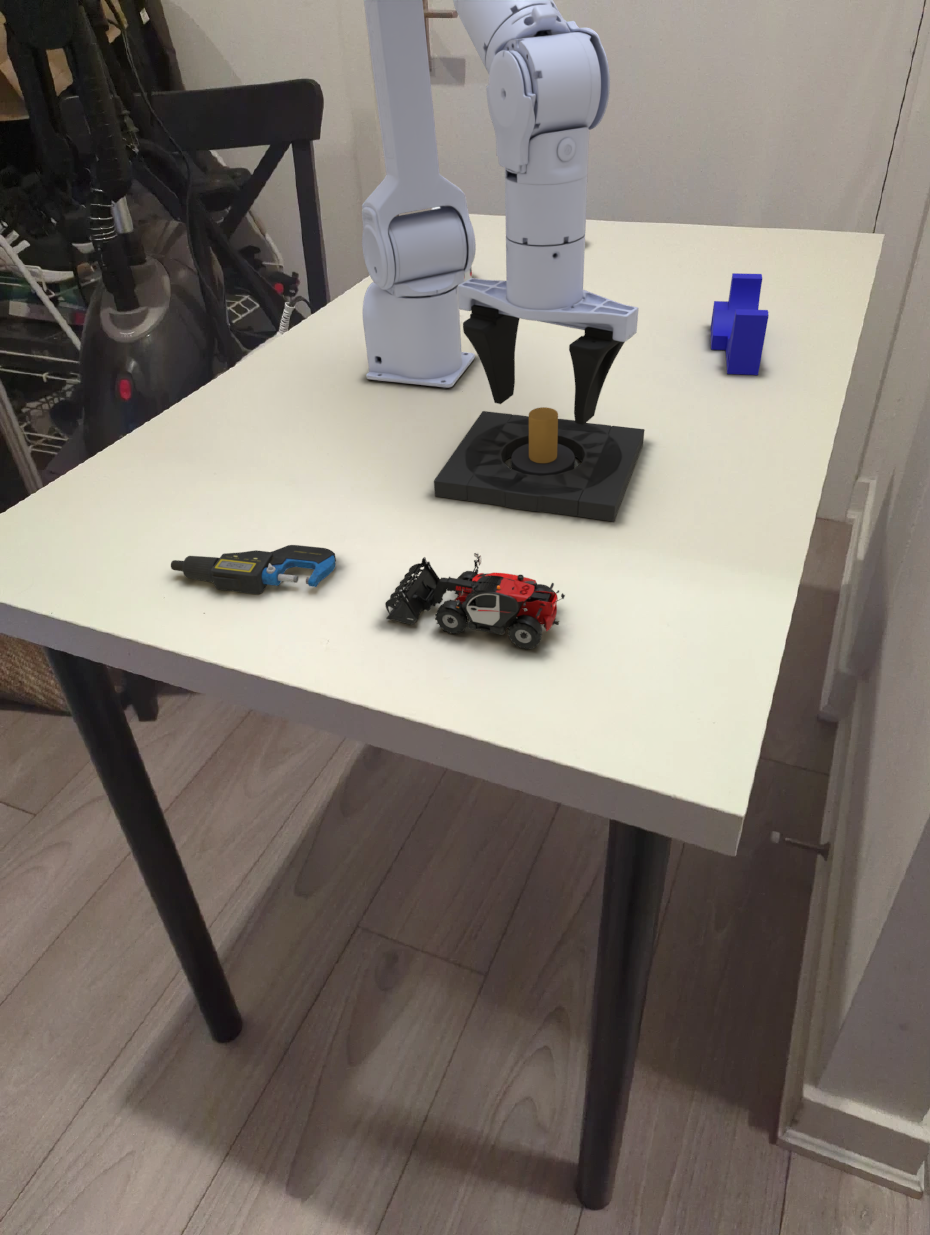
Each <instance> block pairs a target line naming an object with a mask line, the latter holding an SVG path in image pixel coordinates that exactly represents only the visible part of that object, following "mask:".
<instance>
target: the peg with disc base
mask: <svg viewBox="0 0 930 1235" xmlns="http://www.w3.org/2000/svg"><path fill="white" fill-rule="evenodd" d="M528 416H529V444H526V445H523V446H521V447H519V448H517V449H516V450H515V451H514V452H513V454H512V456H511V457H510V469H513V470H515V471H518V472H520V473H523V474H530V475H538V476H544V475H557V474H560V473H563V472H567V471H570V470H573V469H574V468H575V463H576V462H575V461H576V457H575V456H574V453H573V452H572V451H571V450H570V449H569V448H568V447H566V446H564V445H561V444H557V438H558V419H559V413H558V411H557V410H556V409H555V408H552V407H547V406H546V407H542V406H541V407H536V408H533V409H532V410H530V411H529V413H528Z"/></svg>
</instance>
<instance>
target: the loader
mask: <svg viewBox="0 0 930 1235" xmlns="http://www.w3.org/2000/svg"><path fill="white" fill-rule="evenodd" d="M473 556H474V557H475V558H476V559H473V563H474V567H473V570H465V571H462V573H461V574H459V576H457V578H455V577H451V576H448V577H442V576H441V577H439V575H438V574H437V572H436V571H435V570H434V568H433V567H432V565H431V562H430V561H427V558H426V556H424V557H423V558H422V559H421V562H420V563H419V562H418V563H415V564H413V565H412V566H410V567H409V568H408V572H406V573H405V574H404V577H403V578H402V579H401V580H400V581H399V584H398V586H396V587H395V589H394V592H392V593H391V594H390V597H389V599H387V600H386V602H385V609H386V611H387V613H388V615H387V617H386V620H389V621H392V620H393V621H396V622H400V623H402V624H407V625H414V624H415V623H416V622H417V621H418V620H419V617H420V614H421V613H422V612H428V611H430V610H431V607H432V606H433V607H436V605H437V604H438V605H440V604H441V603H442V602H443V603H442V604H441V605H440V606H439V607H438V608H437V610H436V613H435V618H434V621H436V625H438V628H439V629H442V631H443V632H447V633H448V634H452V635H456V634H460V633H462V632H463V631H465V629H466V628H467V626H468V629H471V630H476V631H479V632H486V633H490V634H495V635H501V636H503V635H504V634H506V631H508V632H507V634H506V635H508V640H510V641H511V644H514V645H515V647H519V649H525V650H533V649H534V648H536V647H537V646H538V645H539V644H540V642H541V641H542V636H543V634H542V632H543V628H544V629H545V632H546V633H547V632H548V631H550V629H551V628H552V627H553V626H554V625H555V626H559V624H560V620H556V617H557V613H558V605H557V604H558V602H559V601H561V600H564V599H565V597H566V594H564V593H563V592H562V593H561V595H560V599H559V596H558V594H559V593H560V590H557V591H556V592H555V590H554V589H553V588H554V586H555V583H554V582H551V584H550V586H549V585H546V584H542V583H538V582H537V581H536V579H532V578H530V577H526V576H524V574H512V573H505V572H490V573H489V572H487V573H484V572H480V573H479V568H480V566H481V564H482V555H479V553H477V552H474V553H473ZM447 592H454V594H455V595H457V597H456V598H455V599H454V600H453V599H451V598H450V599H448V600H444V599H443V597H444V594H446V593H447ZM443 600H444V601H443ZM389 608H391V609H392V610H391V611H390V609H389ZM525 609H526V610H525ZM542 625H543V627H542Z"/></svg>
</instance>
